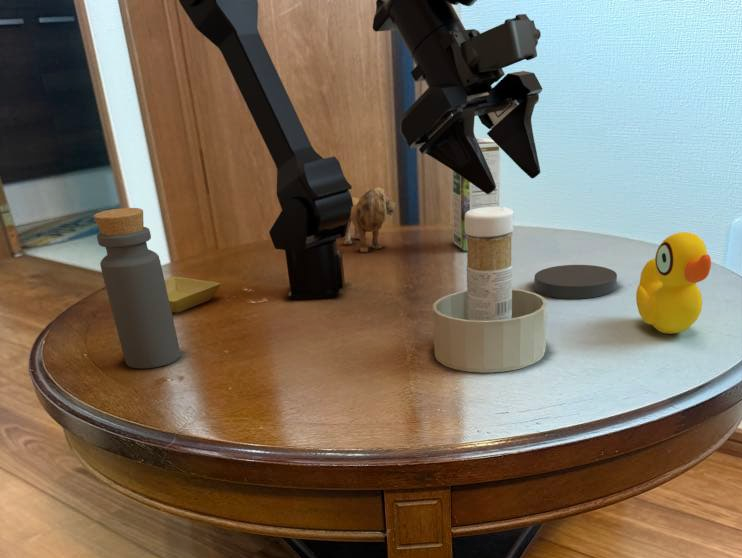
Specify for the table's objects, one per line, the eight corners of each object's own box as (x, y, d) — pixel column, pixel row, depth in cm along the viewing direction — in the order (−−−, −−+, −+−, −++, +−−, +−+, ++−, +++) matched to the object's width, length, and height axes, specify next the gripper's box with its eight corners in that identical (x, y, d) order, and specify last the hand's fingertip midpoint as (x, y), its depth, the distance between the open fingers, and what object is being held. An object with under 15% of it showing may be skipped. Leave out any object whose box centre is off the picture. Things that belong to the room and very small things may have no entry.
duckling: (721, 345, 80) (737, 240, 74) (670, 351, 79) (683, 246, 74) (667, 312, 89) (679, 218, 84) (622, 318, 88) (630, 223, 83)
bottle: (152, 372, 83) (115, 219, 75) (114, 364, 86) (74, 216, 78) (192, 354, 87) (161, 207, 79) (154, 347, 90) (121, 205, 82)
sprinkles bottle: (496, 339, 84) (497, 203, 77) (520, 351, 81) (523, 210, 74) (459, 347, 83) (455, 209, 76) (481, 360, 79) (480, 217, 72)
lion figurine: (403, 250, 122) (399, 186, 117) (373, 256, 119) (368, 192, 115) (354, 235, 132) (349, 177, 128) (326, 241, 130) (319, 181, 125)
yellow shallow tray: (225, 298, 105) (222, 282, 104) (176, 317, 99) (173, 300, 98) (178, 291, 109) (175, 276, 108) (129, 309, 103) (125, 293, 102)
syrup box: (452, 244, 123) (449, 139, 115) (488, 239, 124) (488, 135, 116) (463, 252, 119) (461, 143, 111) (501, 247, 120) (501, 139, 112)
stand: (539, 300, 96) (539, 288, 95) (530, 278, 104) (530, 266, 103) (623, 296, 95) (624, 283, 95) (607, 274, 104) (608, 262, 103)
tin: (435, 375, 78) (433, 324, 75) (434, 337, 87) (432, 291, 84) (551, 369, 77) (553, 318, 74) (538, 332, 86) (539, 285, 84)
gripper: (438, -21, 68) (529, 147, 70) (541, -22, 80) (616, 121, 82) (361, 70, 76) (445, 218, 78) (466, 57, 88) (536, 185, 90)
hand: (515, 183), depth 82 cm, fingers open, 9 cm apart
